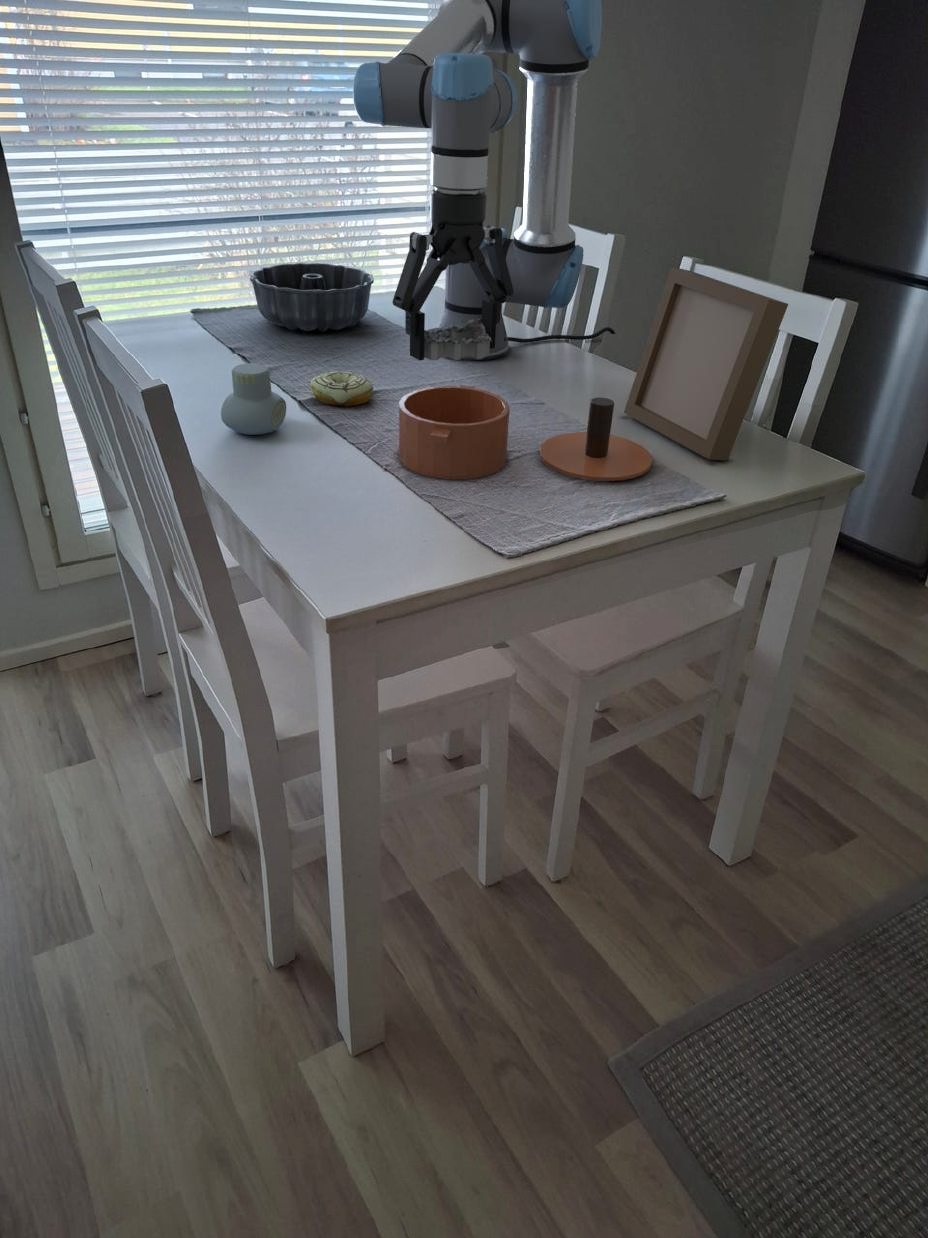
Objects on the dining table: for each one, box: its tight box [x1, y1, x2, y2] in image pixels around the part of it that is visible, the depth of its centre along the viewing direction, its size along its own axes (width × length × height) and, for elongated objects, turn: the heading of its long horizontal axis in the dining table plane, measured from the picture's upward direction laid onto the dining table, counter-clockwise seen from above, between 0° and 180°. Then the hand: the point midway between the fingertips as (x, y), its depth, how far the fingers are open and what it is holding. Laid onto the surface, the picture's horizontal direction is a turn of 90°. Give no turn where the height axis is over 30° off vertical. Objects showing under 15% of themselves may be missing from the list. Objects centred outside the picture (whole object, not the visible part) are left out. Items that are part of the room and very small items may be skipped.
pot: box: [398, 384, 510, 480], centre depth 139 cm, size 17×22×8 cm
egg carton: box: [424, 319, 492, 361], centre depth 132 cm, size 11×8×4 cm
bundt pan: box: [249, 262, 375, 333], centre depth 197 cm, size 26×26×10 cm
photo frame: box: [623, 266, 789, 462], centre depth 147 cm, size 15×22×25 cm
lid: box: [539, 396, 653, 482], centre depth 140 cm, size 18×18×10 cm
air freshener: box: [220, 362, 287, 436], centre depth 145 cm, size 11×8×10 cm
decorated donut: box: [310, 370, 374, 407], centre depth 160 cm, size 10×11×4 cm
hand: (452, 351), depth 133 cm, fingers closed on egg carton, 12 cm apart
